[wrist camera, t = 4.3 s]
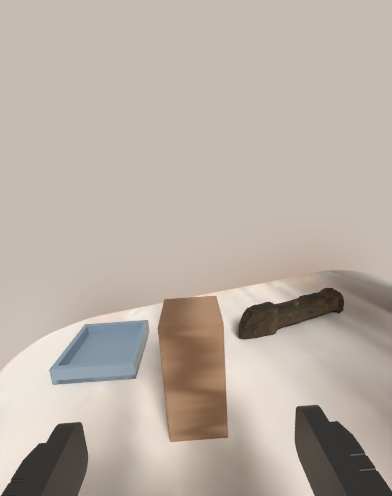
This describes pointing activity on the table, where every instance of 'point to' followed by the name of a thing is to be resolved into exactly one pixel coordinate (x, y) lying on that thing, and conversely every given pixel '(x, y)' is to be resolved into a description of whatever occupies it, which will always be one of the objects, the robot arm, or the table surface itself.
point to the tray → (102, 353)
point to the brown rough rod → (288, 313)
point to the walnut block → (193, 368)
